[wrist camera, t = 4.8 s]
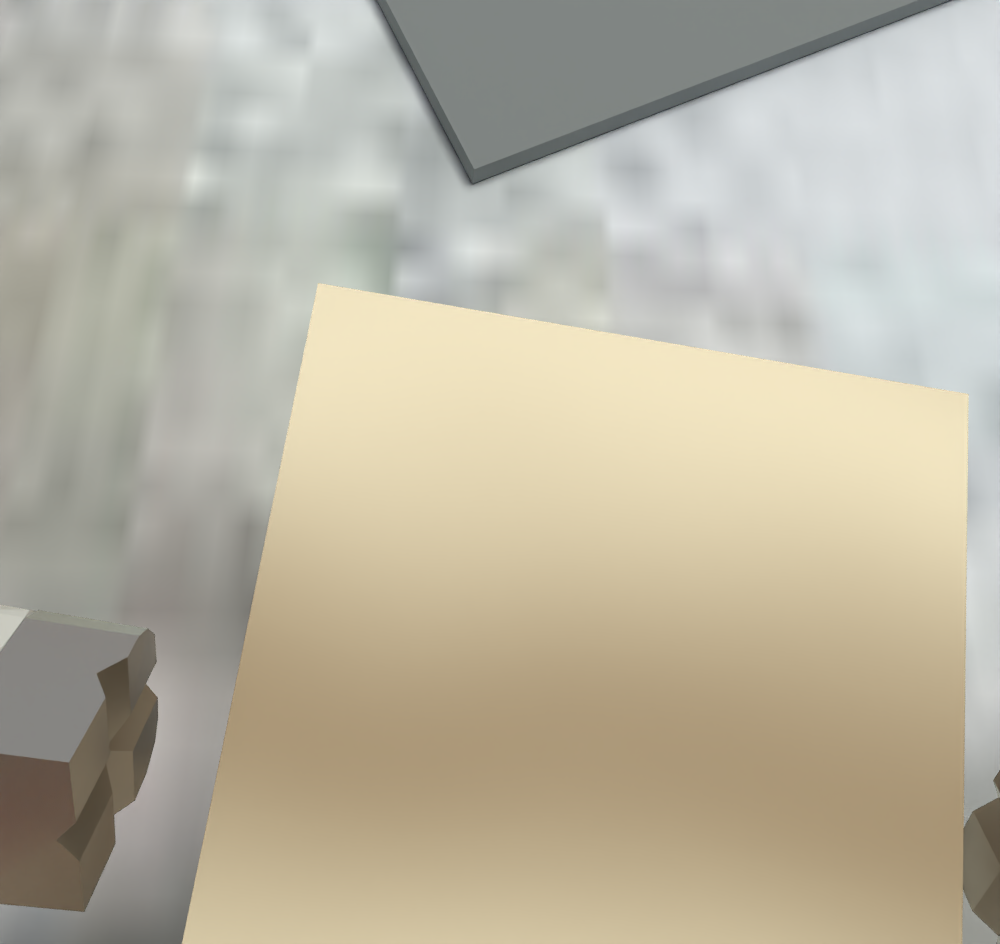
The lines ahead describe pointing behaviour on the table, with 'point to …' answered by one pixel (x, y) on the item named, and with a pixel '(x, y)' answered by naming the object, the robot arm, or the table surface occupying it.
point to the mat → (600, 61)
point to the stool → (594, 648)
